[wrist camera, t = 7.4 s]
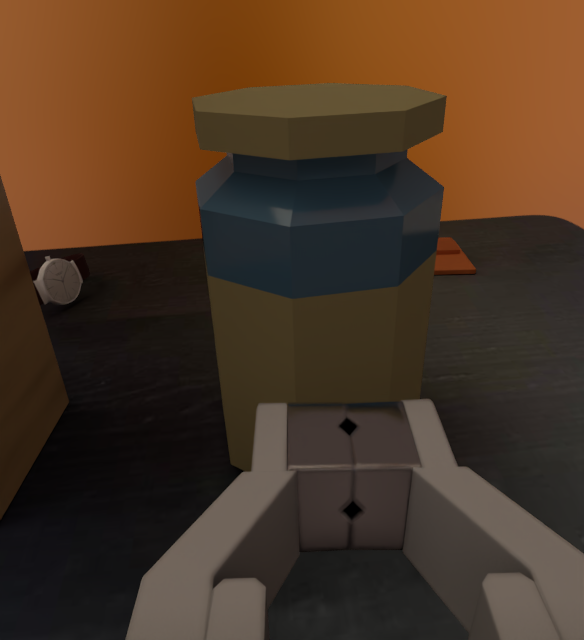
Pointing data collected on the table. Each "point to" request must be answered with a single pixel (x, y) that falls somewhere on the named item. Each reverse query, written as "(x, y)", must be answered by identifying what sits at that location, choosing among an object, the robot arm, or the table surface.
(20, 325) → the tall box
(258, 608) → the robot arm
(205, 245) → the jar
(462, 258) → the cloth
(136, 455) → the table surface
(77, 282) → the watch
